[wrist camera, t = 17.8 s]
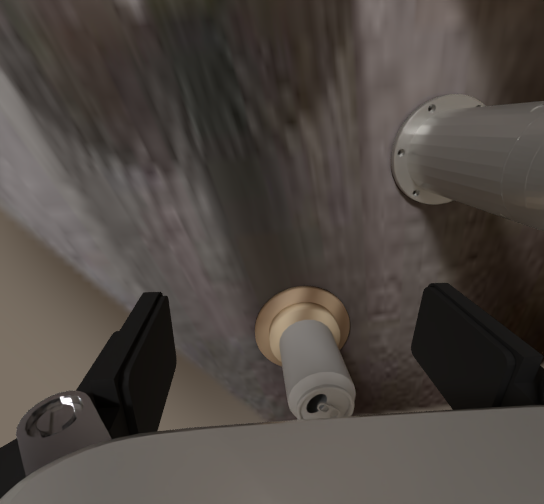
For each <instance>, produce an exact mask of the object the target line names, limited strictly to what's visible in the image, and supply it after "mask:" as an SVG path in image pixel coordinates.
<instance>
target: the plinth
mask: <svg viewBox="0 0 544 504" xmlns="http://www.w3.org/2000/svg"><path fill="white" fill-rule="evenodd" d="M302 320H316V321H319V322H322V323H323V324H325V325H326V326H328V328H329V329H330V331H331V332H332V334H333V337H334V339H335V341H336V344H337V346H338V349H339V351H340V349H341V348H342V347H343V345H344V344H345V342H346V340H347V337H348V335H349V330H350V321H349V316H348V313H347V311H346V309H345V307H344V305H343V304H342V302H341V301H340V300H339V299H338V298H337V297H336V296H335V295H334V294H332V293H331V292H329V291H327V290H325V289H322V288H319V287H314V286H297V287H292V288H289V289H286V290H284V291H281V292H279V293H278V294H276V295H274V296H273V297H272V298H270V299H269V300H268V301H267V302H266V303H265V304H264V306H263V307H262V308H261V310H260V312H259V313H258V316H257V319H256V323H255V337H256V342H257V345H258V347H259V349H260V351H261V352H262V353H263V355H264V356H265V357H266V358H268V359H269V360H270V361H272V362H273V363H275V364H277V365H280V366H282V361H281V354H280V348H279V343H280V338H281V336H282V333H283V332H284V331H285V330H286V329H287V328H288V327H289V326H290V325H292V324H294V323H295V322H298V321H302Z"/></svg>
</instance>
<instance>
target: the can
mask: <svg viewBox="0 0 544 504" xmlns="http://www.w3.org/2000/svg"><path fill="white" fill-rule="evenodd" d="M279 348H280V354H281V361H282V367H283V374H284V380H285V387H286V393H287V399H288V405H289V408H290V410H291V412H292V413H293V414H294V415H295V416H296V417H297V419H298V420H304V419H318V418H333V417H348V416H351V415H352V413H353V411H354V406H355V405H354V400H355V396H356V392H355V387H354V384H353V382H352V379H351V377H350V375H349V372H348V370H347V368H346V365H345V363H344V360H343V358H342V356H341V353H340V351H339V349H338V346H337V344H336V341H335V339H334V337H333V334H332V332H331V331H330V329H329V328H328V326H326V325H325V324H323V323H322V322H319V321H316V320H302V321H298V322H295V323H294V324H292V325H290V326H289V327H288V328H287V329H286V330H285V331H284V332H283V333H282V336H281V338H280V343H279Z"/></svg>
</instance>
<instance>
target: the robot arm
mask: <svg viewBox="0 0 544 504" xmlns="http://www.w3.org/2000/svg"><path fill="white" fill-rule="evenodd" d="M428 108H429V111H428ZM398 151H400V153H399V154H398ZM391 168H392V174H393V177H394V179H395V182H396V184H397V185H398V187H399V188H400V190H401V191H402V192H403V193H404V194H405V195H406V196H408V197H410V198H411V199H413V200H415V201H418V202H420V203H424V204H429V205H439V204H444V203H449V202H451V201H457V202H460V203H463V204H466V205H469V206H472V207H474V208H477V209H480V210H483V211H486V212H489V213H492V214H495V215H498V216H500V217H503V218H506V219H509V220H512V221H515V222H518V223H521V224H524V225H526V226H529V227H532V228H535V229H538V230H542V231H544V101H538V102H527V103H516V104H505V105H494V106H485V105H484V104H483V103H482V102H480V101H479V100H478V99H476V98H474V97H471V96H469V95H463V94H450V95H444V96H439V97H436V98H434V99H431V100H429V101H427V102H425V103H424V104H422V105H421V106H419V107H418V108H417V109H416V110H415V111H414V112H412V113H411V114H410V115H409V117H408V118H407V119H406V120H405V122H404V123H403V124H402V126H401V128H400V129H399V131H398V133H397V135H396V138H395V141H394V143H393V148H392V153H391ZM413 191H414V193H413ZM411 351H412V354H413V356H414V357H415V359H416V360H417V362H418V363H419V364H420V366H421V367H422V368H423V370H424V371H425V372H426V374H427V375H428V376H429V378H430V379H431V381H432V382H433V383H434V385H435V386H436V387H437V389H438V390H439V391H440V393H441V394H442V395H443V397H444V398H445V400H446V401H447V402H448V404H449V405H450V406H451V408H452V409H453V410H442V411H425V412H409V413H393V414H378V415H363V416H348V417H333V418H318V419H304V420H290V421H276V422H262V423H248V424H234V425H221V426H209V427H194V428H184V429H175V430H166V431H157V430H158V427H159V423H160V420H161V416H162V413H163V409H164V406H165V402H166V399H167V396H168V392H169V389H170V386H171V382H172V379H173V375H174V372H175V368H176V351H175V344H174V337H173V329H172V322H171V315H170V308H169V300H168V297H167V296H163V295H162V293H161V292H145V293H143V294H142V296H141V297H140V299H139V300H138V302H137V304H136V305H135V307H134V308H133V310H132V312H131V313H130V315H129V317H128V318H127V320H126V322H125V323H124V325H123V326H122V328H121V329H120V331H116V332H114V333H113V335H112V336H111V337H110V339H109V340H108V342H107V344H106V345H105V347H104V348H103V350H102V351H101V353H100V354H99V356H98V357H97V359H96V361H95V362H94V364H93V365H92V367H91V368H90V370H89V371H88V373H87V374H86V376H85V378H84V379H83V381H82V382H81V384H80V385H79V387H78V388H77V390H76V391H66V392H61V393H57V394H55V395H52V396H50V397H48V398H46V399H44V400H42V401H41V402H39V403H38V404H36V405H35V406H34V407H32V408H31V409H30V410H29V411H28V412H27V413H26V414H25V415H24V416H23V418H22V419H21V420H20V422H19V424H18V426H17V432H16V436H17V439H15V440H13V441H12V442H10V443H8V444H6V445H5V446H3V447H1V448H0V504H544V368H542V367H541V366H540V364H541V362H542V359H543V357H544V356H543V355H541V354H540V353H539V352H537V351H536V350H535V349H533V348H532V347H531V346H530V345H528V344H527V343H526V342H524V341H523V340H522V339H520V338H519V337H518V336H516V335H515V334H514V333H513V332H511V331H510V330H509V329H507V328H506V327H505V326H503V325H502V324H501V323H499V322H498V321H497V320H496V319H494V318H493V317H492V316H490V315H489V314H488V313H486V312H485V311H484V310H482V309H481V308H480V307H479V306H477V305H476V304H475V303H473V302H472V301H471V300H469V299H468V298H467V297H465V296H464V295H463V294H462V293H460V292H459V291H458V290H456V289H455V288H454V287H452V286H451V285H450V284H448V283H431V284H429V286H428V287H426V288H425V289H424V291H423V295H422V300H421V304H420V309H419V313H418V318H417V322H416V327H415V331H414V336H413V340H412V345H411Z"/></svg>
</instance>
